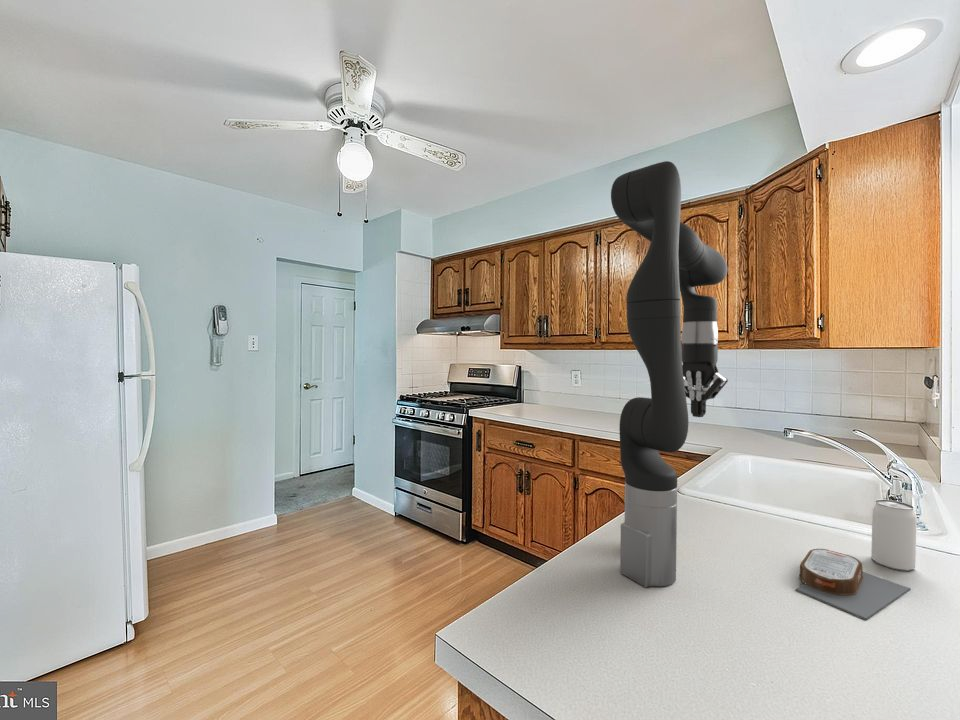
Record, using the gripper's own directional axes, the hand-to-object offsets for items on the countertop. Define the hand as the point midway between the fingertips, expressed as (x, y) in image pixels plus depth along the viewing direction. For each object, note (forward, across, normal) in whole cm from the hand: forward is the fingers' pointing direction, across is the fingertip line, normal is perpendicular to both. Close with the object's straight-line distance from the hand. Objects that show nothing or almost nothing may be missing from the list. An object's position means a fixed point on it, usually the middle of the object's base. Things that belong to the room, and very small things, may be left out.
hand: (698, 416), depth 103 cm
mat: (+27, +30, +1) cm, 40 cm away
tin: (+25, +21, +1) cm, 33 cm away
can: (+27, +29, +20) cm, 45 cm away
